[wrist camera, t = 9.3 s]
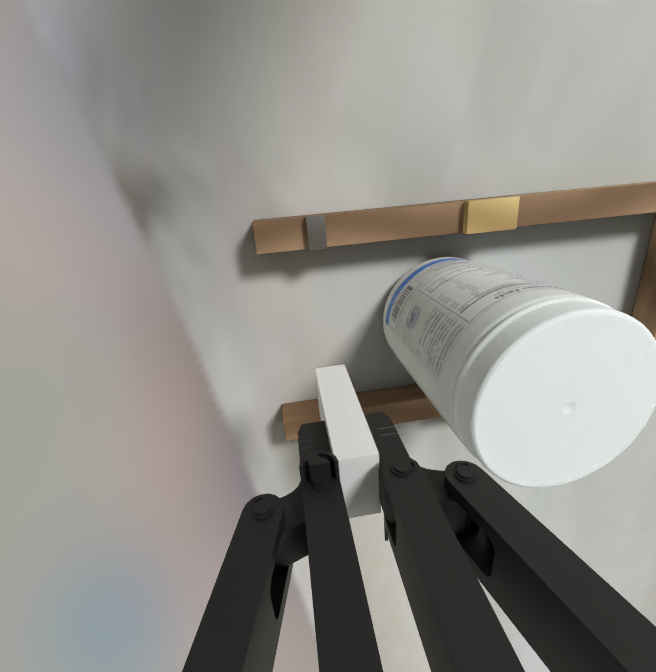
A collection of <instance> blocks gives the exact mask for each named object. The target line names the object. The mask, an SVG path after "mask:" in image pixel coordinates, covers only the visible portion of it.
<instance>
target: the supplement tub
mask: <svg viewBox="0 0 656 672" xmlns="http://www.w3.org/2000/svg"><path fill="white" fill-rule="evenodd" d="M383 328H384V333H385V337H386V340H387V342H388V344H389V346H390V348H391V350H392V351H393V352H394V354H395V356H396V357H397V358H398V359H399V361H400V362H401V363H402V365H403V366H404V367H405V369H406V370H407V371H408V373H409V374H410V375H411V377H412V378H413V379H414V380H415V382H416V383H417V384H418V386H419V387H420V388H421V390H422V391H423V392H424V394H425V395H426V396H427V398H428V399H429V400H430V402H431V403H432V404H433V405H434V407H435V408H436V409H437V411H438V412H439V413H440V415H441V416H442V417H443V419H444V420H445V421H446V423H447V424H448V425H449V427H450V428H451V429H452V431H453V432H454V433H455V434H456V436H457V437H458V438H459V440H460V441H461V442H462V443H463V444H464V446H465V447H466V448H467V450H468V451H469V452H470V453H471V454H472V455H473V456H474V457H476V458H477V459H478V460H479V461H480V462H481V463H482V464H483V466H484V467H485V468H486V469H487V470H488V471H489V472H491V473H492V474H493V475H495V476H496V477H497V478H499V479H501V480H503V481H505V482H508V483H511V484H514V485H518V486H523V487H533V488H539V487H551V486H557V485H561V484H565V483H568V482H572V481H575V480H577V479H580V478H582V477H584V476H587V475H588V474H590V473H592V472H594V471H596V470H598V469H599V468H601V467H602V466H604V465H605V464H607V463H608V462H610V461H611V460H612V459H614V458H615V457H616V456H617V455H619V454H620V453H621V452H622V451H623V450H624V449H625V448H626V447H627V446H628V445H629V444H630V443H631V442H632V441H633V440H634V439H635V438H636V436H637V435H638V434H639V432H640V431H641V430H642V428H643V427H644V426H645V424H646V422H647V421H648V419H649V417H650V415H651V413H652V411H653V410H654V407H655V405H656V340H655V338H654V337H653V335H652V334H651V333H650V331H649V330H648V329H647V328H646V327H645V326H644V325H643V324H642V323H641V322H639V321H638V320H636V319H635V318H633V317H631V316H629V315H627V314H625V313H622V312H620V311H617V310H615V309H613V308H611V307H610V306H608V305H606V304H604V303H601V302H599V301H596V300H592V299H590V298H587V297H584V296H581V295H578V294H575V293H572V292H569V291H566V290H563V289H559V288H556V287H553V286H549V285H546V284H543V283H540V282H537V281H534V280H530V279H527V278H524V277H521V276H518V275H514V274H511V273H508V272H505V271H501V270H498V269H495V268H492V267H488V266H485V265H482V264H478V263H475V262H472V261H468V260H465V259H461V258H457V257H440V258H434V259H431V260H428V261H425V262H423V263H421V264H419V265H417V266H415V267H414V268H412V269H411V270H409V271H408V272H407V273H406V274H405V275H404V276H403V277H402V278H401V279H400V280H399V281H398V282H397V283H396V285H395V286H394V288H393V289H392V291H391V293H390V295H389V297H388V299H387V302H386V305H385V309H384V315H383Z"/></svg>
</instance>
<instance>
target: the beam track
mask: <svg viewBox="0 0 656 672" xmlns="http://www.w3.org/2000/svg"><path fill="white" fill-rule="evenodd" d="M651 212H656V181H654V182H644V183H633V184H623V185H613V186H602V187H592V188H582V189H571V190H561V191H551V192H540V193H530V194H520V195H509V196H499V197H488V198H478V199H468V200H457V201H447V202H437V203H426V204H416V205H406V206H395V207H385V208H375V209H364V210H354V211H343V212H333V213H323V214H312V215H302V216H292V217H281V218H271V219H261V220H254V221H253V222H252V225H253V232H254V238H255V244H256V251H257V254H265V253H274V252H284V251H293V250H303V249H309V251H311V250H321V249H327V247H331V246H340V245H350V244H359V243H369V242H378V241H387V240H397V239H406V238H416V237H425V236H435V235H444V234H453V233H464V234H473V233H482V232H491V231H501V230H510V229H516V228H517V227H519V226H529V225H538V224H548V223H557V222H567V221H576V220H585V219H595V218H604V217H614V216H623V215H633V214H642V213H651ZM631 317H633V318H635V319H636V320H638V321H639V322H641V323H642V324H643V325H644V326H645V327H646V328H647V329H648V330H649V331H650V333H651V334H652V335H653V337H654V338H655V340H656V217H655V222H654V226H653V230H652V234H651V238H650V242H649V246H648V250H647V255H646V259H645V263H644V267H643V271H642V275H641V279H640V283H639V287H638V292H637V296H636V300H635V304H634V308H633V312H632V316H631ZM356 395H357V398H358V401H359V403H360V406H361V408H362V411H363V414H367V413H374V412H380V411H382V412H384V413H385V414H386V415H387V416H389V417H390V418H391V420H392V422H393V424H397V423H403V422H409V421H416V420H422V419H428V418H434V417H441V415H440V413H439V412H438V411H437V409H436V408H435V407H434V405H433V404H432V403H431V402H430V400H429V399H428V398H427V396H426V395H425V394H424V392H423V391H422V390H421V388H420V387H419V386H418V384H415V385H408V386H401V387H395V388H388V389H381V390H374V391H368V392H361V393H356ZM282 414H283V425H284V431H285V438H286V441H290V440H296V439H298V431H299V429H300V427H301V425H302V424H306V423H312V422H319V421H321V418H320V411H319V402H318V399H314V400H307V401H300V402H294V403H287V404H282Z"/></svg>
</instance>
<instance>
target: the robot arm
mask: <svg viewBox="0 0 656 672" xmlns="http://www.w3.org/2000/svg"><path fill="white" fill-rule="evenodd" d="M315 374H316V383H317V393H318V402H319V411H320V418H321V421H319V422H312V423H306V424H302V425H301V427H300V429H299V431H298V442H299V453H300V466H299V469H300V476H301V482H300V484H299V486H298V487H297V488H296V489H295V490H294V491H293V492H292V493H290V494H288V495H286V496H284V497H282V498H279V497H277V496H276V495H272V494H262V495H258V496H256V497H254V498H252V499H251V500H250V501H249V502H248V503H247V504H246V505H245V507H244V509H243V511H242V513H241V516H240V519H239V522H238V524H237V527H236V529H235V532H234V535H233V537H232V540H231V543H230V546H229V548H228V551H227V553H226V556H225V559H224V561H223V564H222V567H221V569H220V572H219V575H218V577H217V580H216V583H215V585H214V588H213V591H212V594H211V596H210V599H209V602H208V604H207V607H206V609H205V612H204V615H203V617H202V620H201V623H200V625H199V628H198V631H197V633H196V636H195V639H194V641H193V644H192V647H191V649H190V652H189V655H188V657H187V660H186V663H185V665H184V668H183V671H182V672H272V671H273V666H274V660H275V655H276V650H277V645H278V639H279V634H280V629H281V624H282V619H283V613H284V608H285V604H286V598H287V593H288V588H289V583H290V578H291V572H292V567H293V563H294V562H296V561H298V560H299V559H301V558H303V557H305V556H307V555H308V556H309V567H310V577H311V588H312V599H313V609H314V620H315V631H316V641H317V652H318V662H319V672H383V669H382V664H381V660H380V655H379V651H378V646H377V642H376V637H375V633H374V629H373V624H372V620H371V615H370V611H369V606H368V602H367V597H366V593H365V588H364V584H363V580H362V575H361V571H360V566H359V562H358V557H357V553H356V548H355V544H354V540H353V535H352V531H351V526H350V522H349V518H352V517H358V516H363V515H369V514H375V513H380V512H381V506H382V509H383V512H384V531H385V541H387V540H388V537H389V541H390V544H391V547H392V550H393V553H394V556H395V559H396V563H397V566H398V569H399V572H400V575H401V578H402V581H403V585H404V588H405V591H406V594H407V597H408V600H409V603H410V606H411V610H412V613H413V616H414V619H415V622H416V625H417V628H418V632H419V635H420V638H421V641H422V644H423V647H424V650H425V654H426V657H427V660H428V663H429V666H430V669H431V672H525V671H524V669H523V667H522V665H521V663H520V661H519V659H518V657H517V655H516V653H515V651H514V649H513V647H512V645H511V643H510V641H509V639H508V638H507V636H506V634H505V632H504V630H503V628H502V626H501V624H500V622H499V620H498V618H497V616H496V614H495V612H494V610H493V608H492V606H491V604H490V602H489V600H488V598H487V596H486V594H485V592H484V590H483V589H482V587H481V585H480V583H479V581H480V582H481V583H482V584H483V586H484V587H485V588H486V590H487V591H488V592H489V593H490V595H491V596H492V597H493V599H494V600H495V601H496V602H497V604H498V605H499V606H500V607H501V609H502V610H503V611H504V613H505V614H506V615H507V616H508V618H509V619H510V620H511V622H512V623H513V624H514V625H515V627H516V628H517V629H518V631H519V632H520V633H521V634H522V636H523V637H524V638H525V640H526V641H527V642H528V643H529V645H530V646H531V647H532V648H533V650H534V651H535V652H536V654H537V655H538V656H539V657H540V659H541V660H542V661H543V663H544V664H545V665H546V666H547V668H548V669H549V670H550V672H656V627H655V626H654V625H653V624H652V623H651V622H650V621H649V620H648V619H647V618H646V617H644V616H643V615H642V614H641V613H640V612H639V611H638V610H637V609H636V608H634V607H633V606H632V605H631V604H630V603H629V602H628V601H627V600H626V599H625V598H623V597H622V596H621V595H620V594H619V593H618V592H617V591H616V590H615V589H614V588H612V587H611V586H610V585H609V584H608V583H607V582H606V581H605V580H604V579H602V578H601V577H600V576H599V575H598V574H597V573H596V572H595V571H594V570H593V569H591V568H590V567H589V566H588V565H587V564H586V563H585V562H584V561H583V560H582V559H580V558H579V557H578V556H577V555H576V554H575V553H574V552H573V551H572V550H571V549H569V548H568V547H567V546H566V545H565V544H564V543H563V542H562V541H561V540H559V539H558V538H557V537H556V536H555V535H554V534H553V533H552V532H551V531H550V530H548V529H547V528H546V527H545V526H544V525H543V524H542V523H541V522H540V521H539V520H537V519H536V518H535V517H534V516H533V515H532V514H531V513H530V512H529V511H528V510H526V509H525V508H524V507H523V506H522V505H521V504H520V503H519V502H518V501H516V500H515V499H514V498H513V497H512V496H511V495H510V494H509V493H508V492H507V491H505V490H504V489H503V488H502V487H501V486H500V485H499V484H498V483H497V482H496V481H494V480H493V479H492V478H491V477H490V476H489V475H488V474H487V473H486V472H485V471H483V470H482V469H481V468H480V467H478V466H477V465H475V464H473V463H470V462H467V461H455V462H452V463H450V464H449V465H447V467H446V469H445V471H438V470H430V469H425V468H423V467H420V465H419V464H418V463H417V462H416V461H415V460H413V459H411V458H410V457H409V455H408V453H407V451H406V449H405V447H404V445H403V443H402V441H401V439H400V437H399V435H398V434H397V431H396V429H395V427H394V425H393V422H392V420H391V418H390V417H389V416H387V415H386V414H385V413H384V412H382V411H380V412H374V413H367V414H363V411H362V408H361V406H360V403H359V401H358V398H357V395H356V393H355V390H354V388H353V385H352V382H351V380H350V377H349V375H348V372H347V370H346V367H345V364H344V365H336V366H329V367H322V368H315ZM477 578H478V579H479V581H478V579H477Z"/></svg>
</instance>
